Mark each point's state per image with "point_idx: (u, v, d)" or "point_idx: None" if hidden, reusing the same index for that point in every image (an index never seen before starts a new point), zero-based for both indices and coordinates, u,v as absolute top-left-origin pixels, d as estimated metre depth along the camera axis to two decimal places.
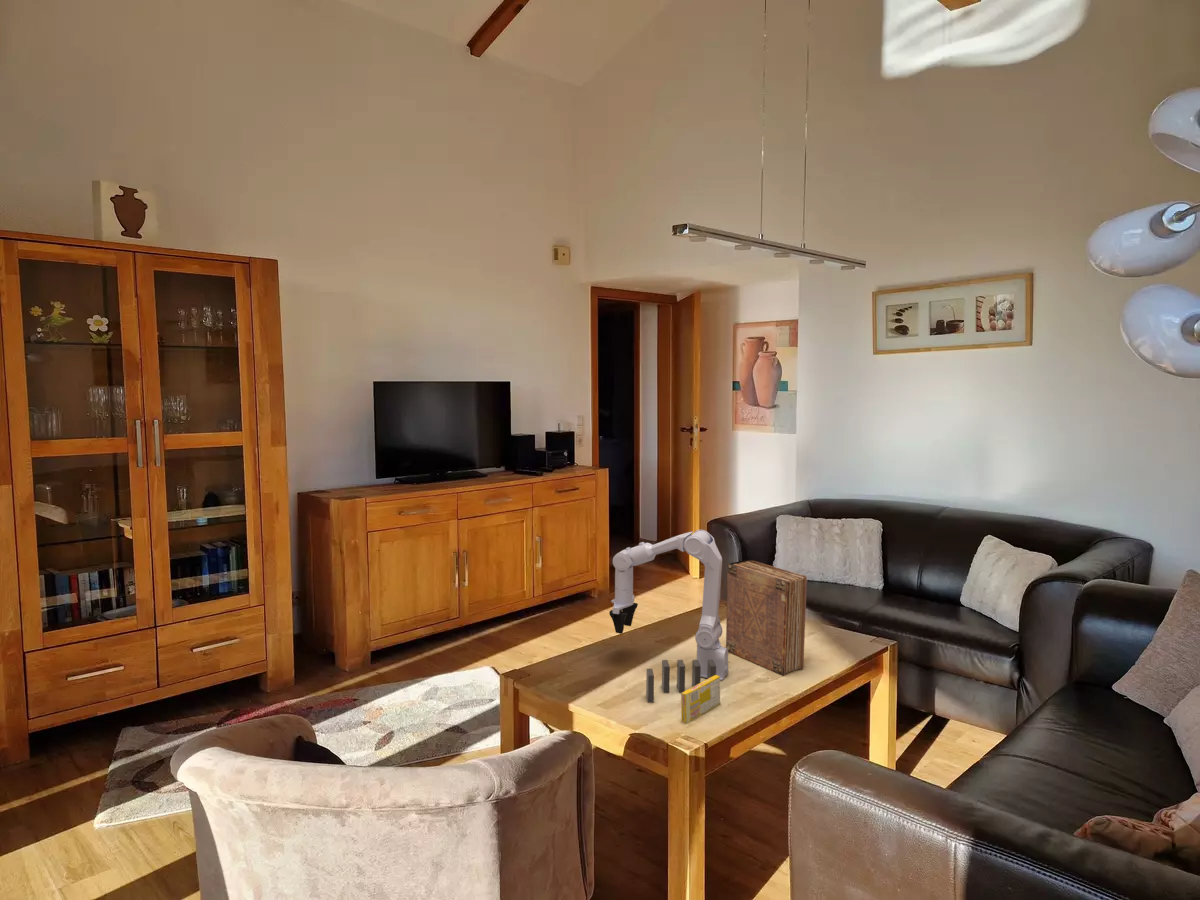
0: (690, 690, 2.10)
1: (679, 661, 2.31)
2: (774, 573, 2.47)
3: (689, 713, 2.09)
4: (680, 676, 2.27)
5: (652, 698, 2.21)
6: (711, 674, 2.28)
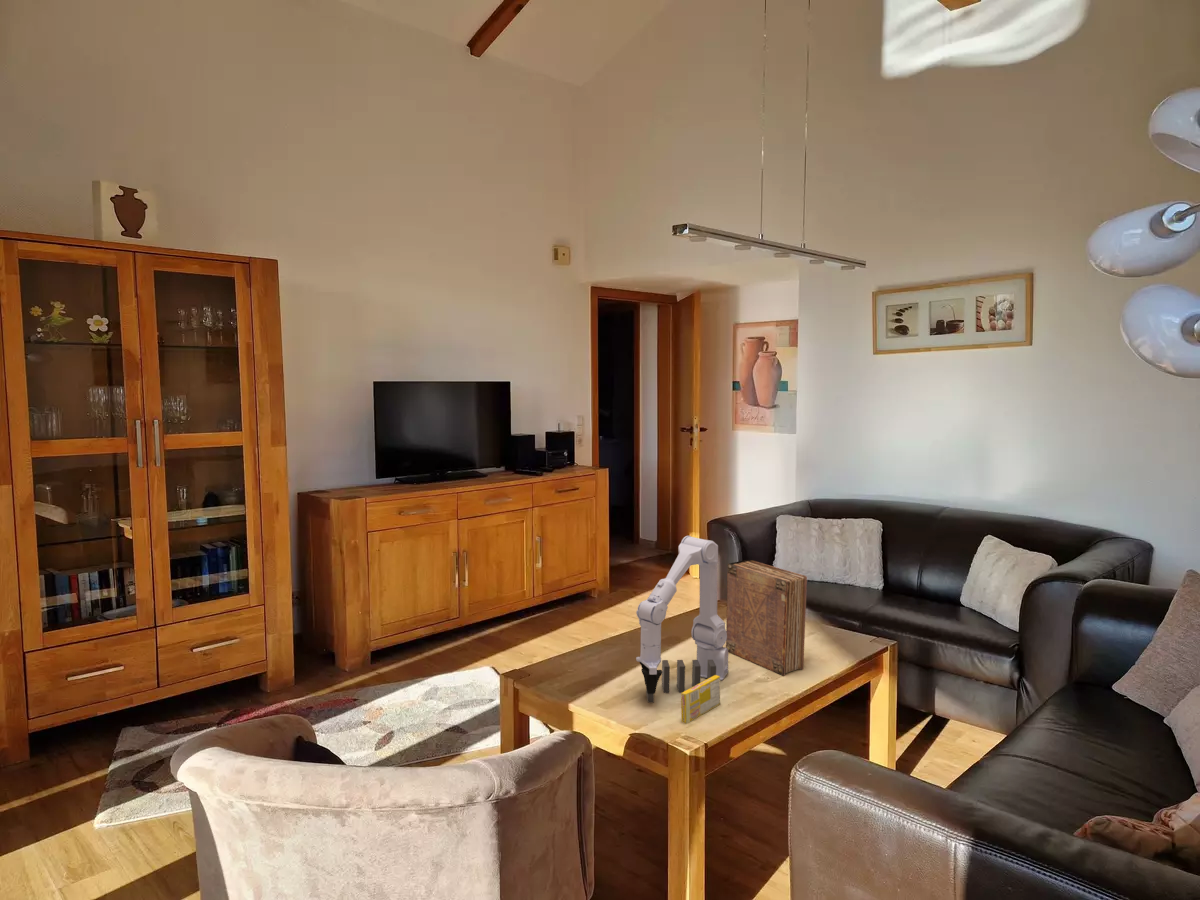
0: (690, 690, 2.10)
1: (679, 661, 2.31)
2: (774, 573, 2.47)
3: (689, 713, 2.09)
4: (680, 676, 2.27)
5: (652, 698, 2.21)
6: (711, 674, 2.28)
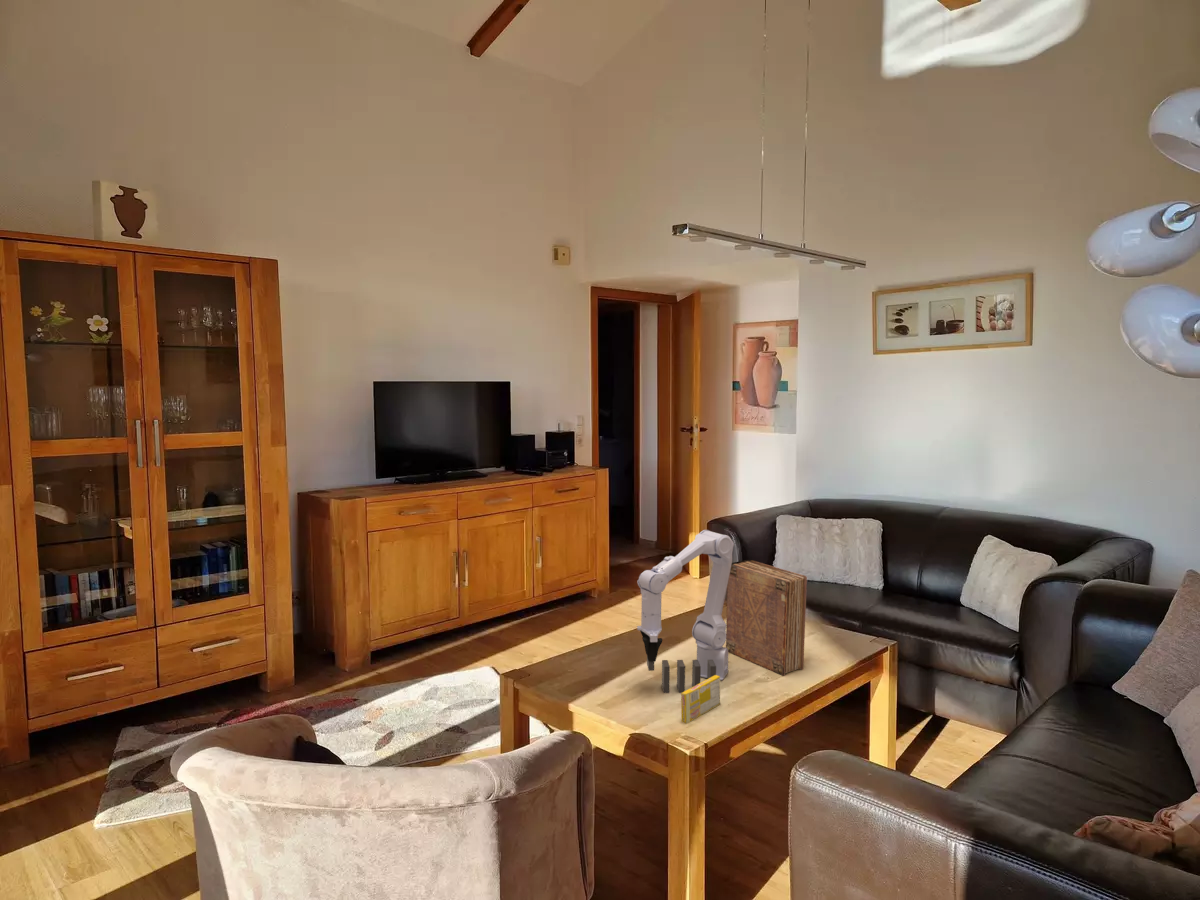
0: (690, 690, 2.10)
1: (679, 661, 2.31)
2: (774, 573, 2.47)
3: (689, 713, 2.09)
4: (680, 676, 2.27)
5: (653, 666, 2.26)
6: (711, 674, 2.28)
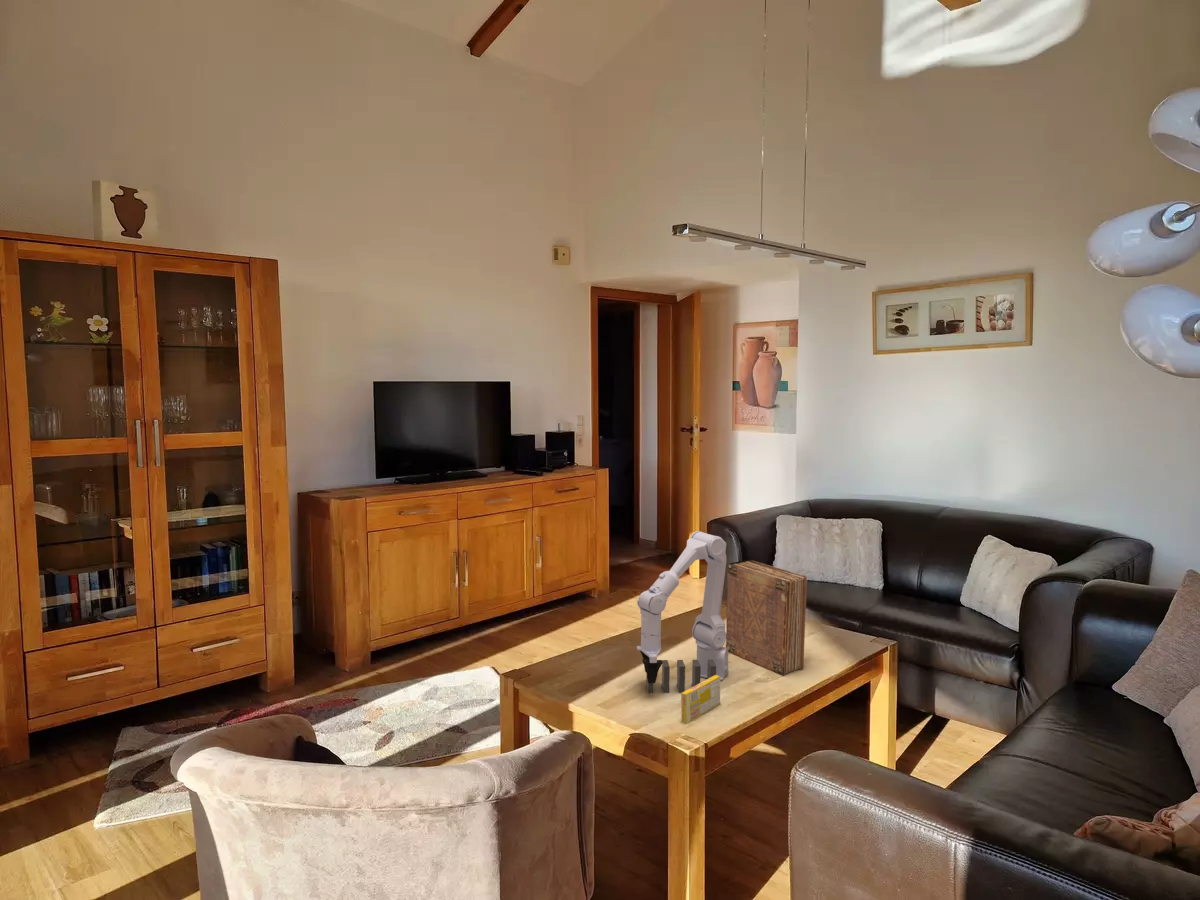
0: (690, 690, 2.10)
1: (679, 661, 2.31)
2: (774, 573, 2.47)
3: (689, 713, 2.09)
4: (680, 676, 2.27)
5: (652, 689, 2.27)
6: (711, 674, 2.28)
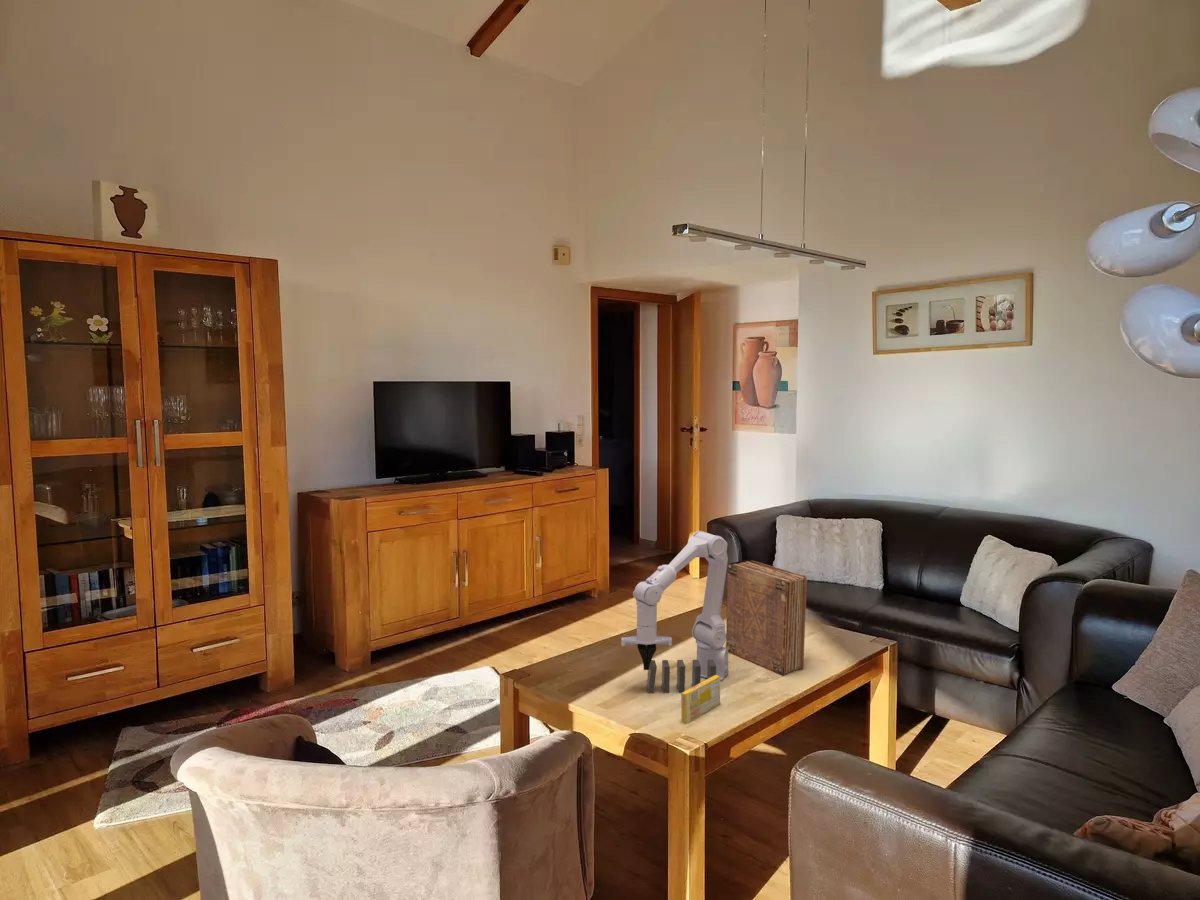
0: (690, 690, 2.10)
1: (679, 661, 2.31)
2: (774, 573, 2.47)
3: (689, 713, 2.09)
4: (680, 676, 2.27)
5: (652, 689, 2.27)
6: (711, 674, 2.28)
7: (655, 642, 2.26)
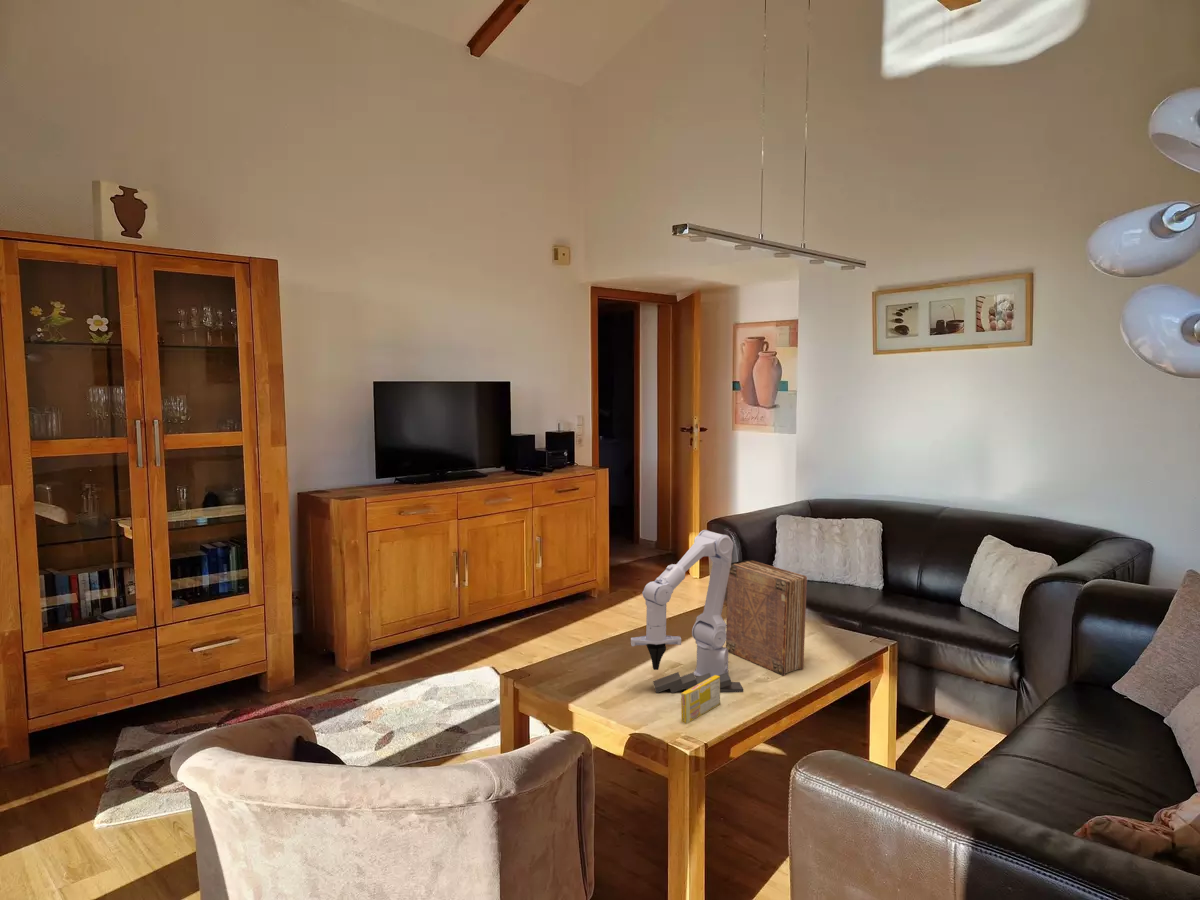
0: (690, 690, 2.10)
1: (710, 675, 2.31)
2: (774, 573, 2.47)
3: (689, 713, 2.09)
4: None
5: (660, 690, 2.27)
6: (734, 689, 2.28)
7: (665, 642, 2.26)
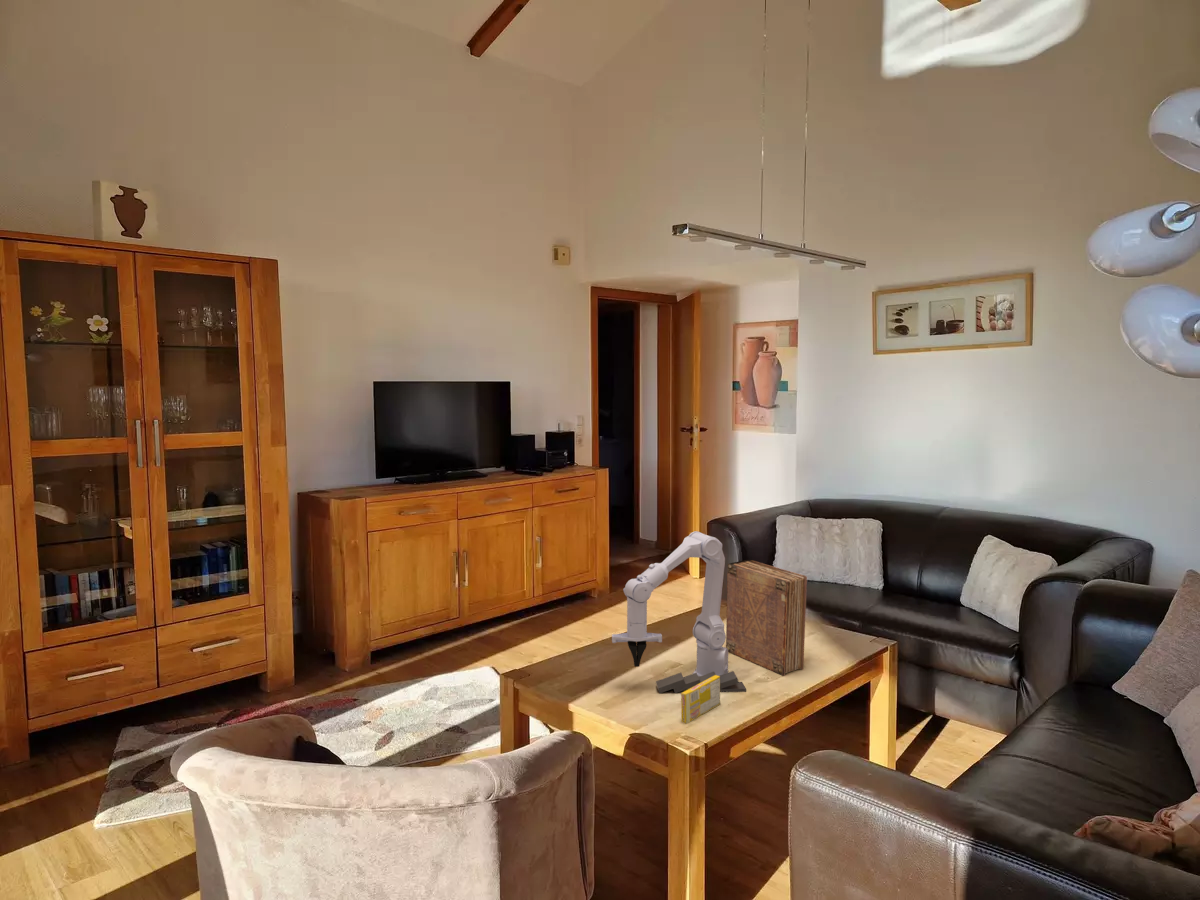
0: (690, 690, 2.10)
1: (715, 674, 2.32)
2: (774, 573, 2.47)
3: (689, 713, 2.09)
4: None
5: (663, 690, 2.27)
6: (737, 689, 2.29)
7: (645, 639, 2.27)
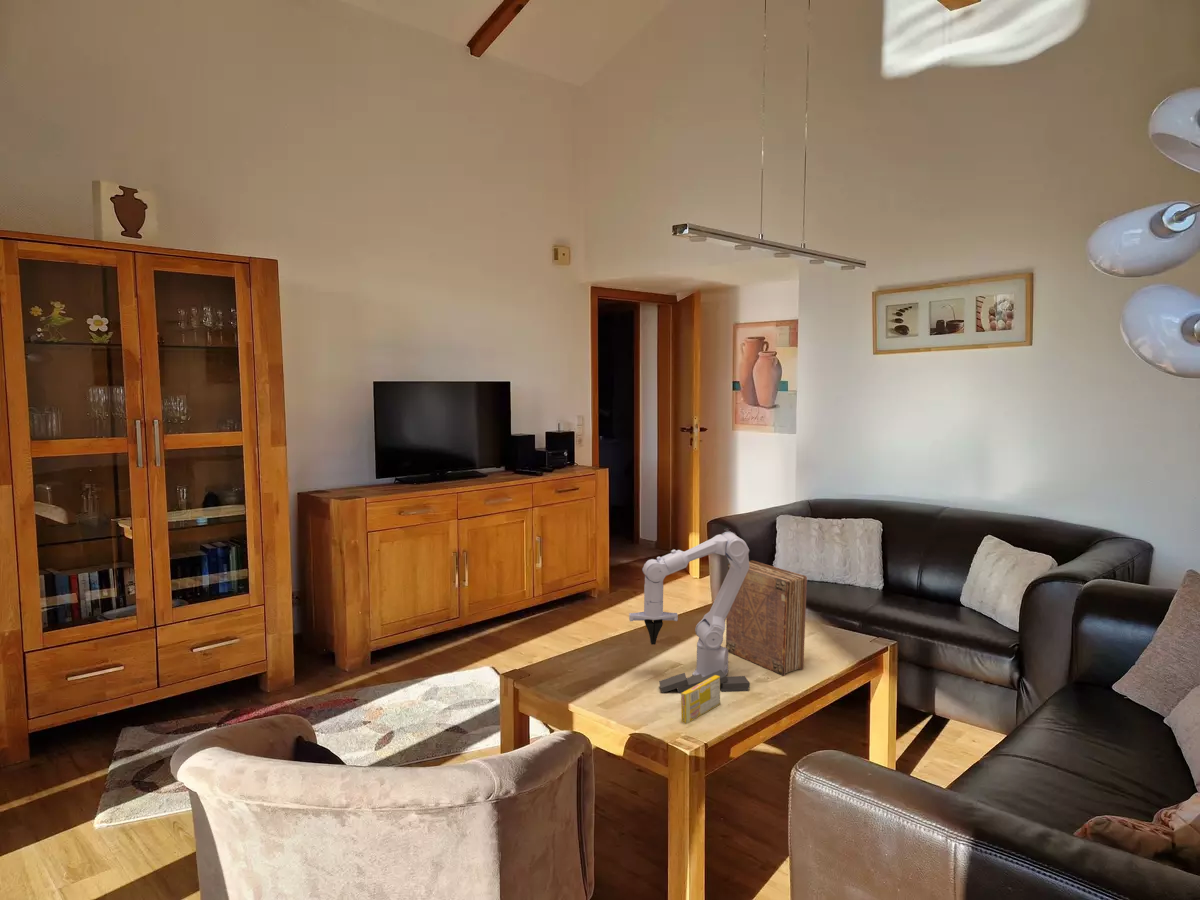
0: (690, 690, 2.10)
1: (722, 672, 2.33)
2: (774, 573, 2.47)
3: (689, 713, 2.09)
4: None
5: (666, 690, 2.27)
6: (740, 690, 2.29)
7: (662, 617, 2.35)
